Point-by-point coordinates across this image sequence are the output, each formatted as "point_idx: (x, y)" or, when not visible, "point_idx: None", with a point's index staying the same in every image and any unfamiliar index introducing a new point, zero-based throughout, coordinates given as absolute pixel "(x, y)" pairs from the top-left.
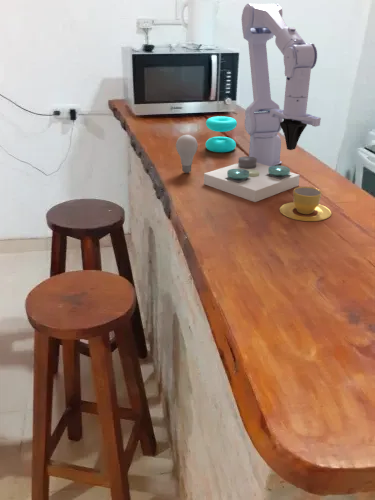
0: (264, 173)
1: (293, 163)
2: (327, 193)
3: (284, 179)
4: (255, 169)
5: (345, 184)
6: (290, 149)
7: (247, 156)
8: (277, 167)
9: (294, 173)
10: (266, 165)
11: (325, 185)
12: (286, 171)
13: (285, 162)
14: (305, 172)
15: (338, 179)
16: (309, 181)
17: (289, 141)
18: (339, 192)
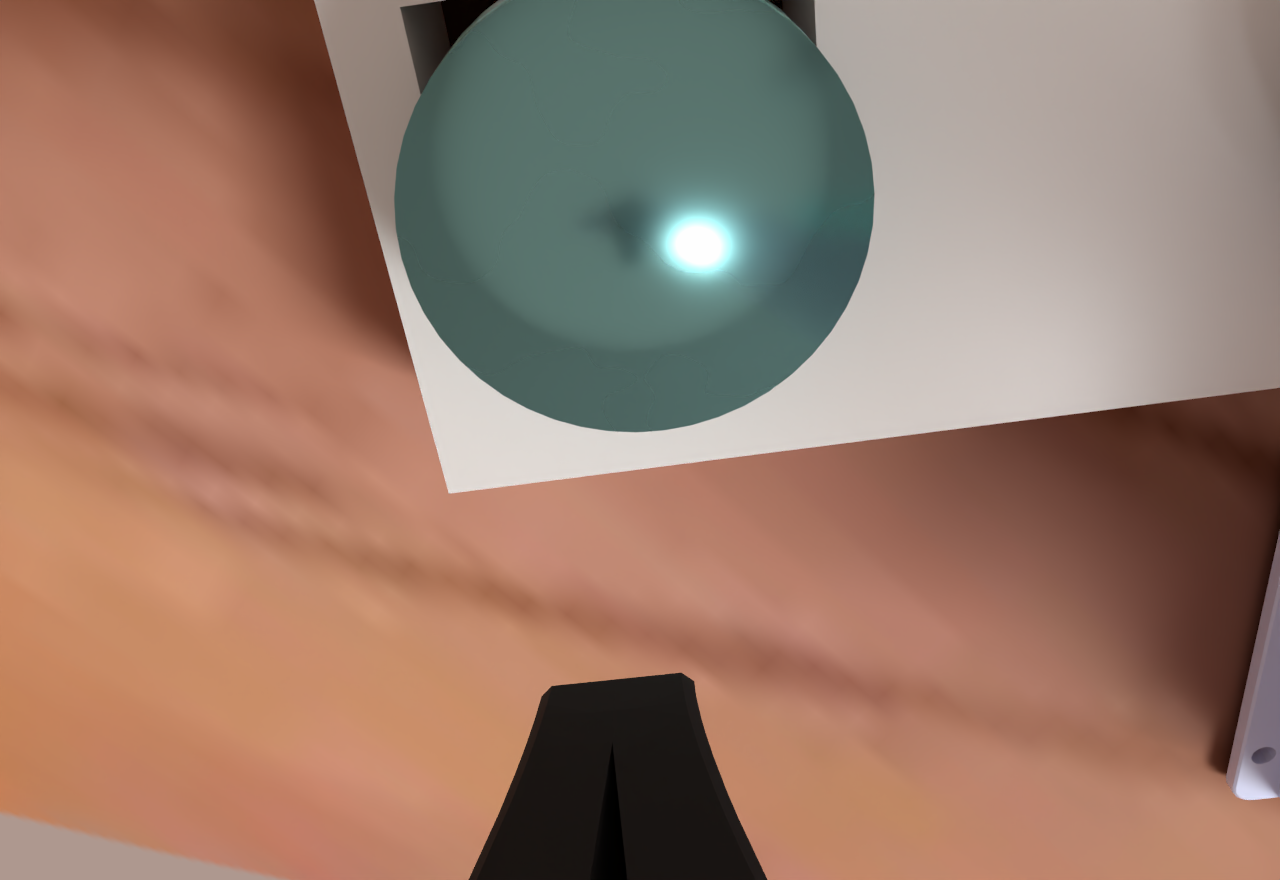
0: (900, 16)
1: (1116, 867)
2: (26, 490)
3: (373, 95)
4: (1208, 42)
5: (227, 826)
6: (552, 696)
7: None
8: (725, 258)
9: (551, 475)
10: (1180, 393)
11: (302, 659)
12: (402, 222)
13: (1214, 831)
14: (802, 777)
15: (400, 870)
16: (524, 614)
17: (559, 866)
18: (7, 621)
